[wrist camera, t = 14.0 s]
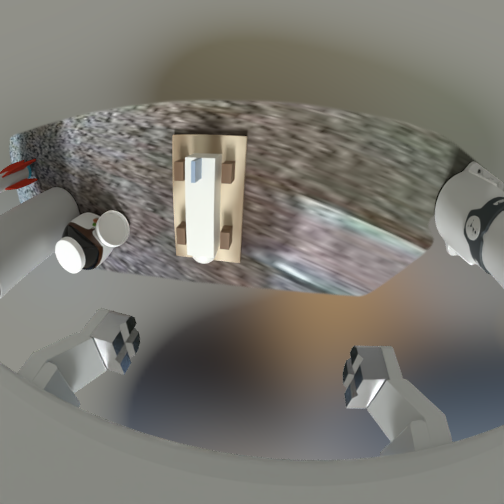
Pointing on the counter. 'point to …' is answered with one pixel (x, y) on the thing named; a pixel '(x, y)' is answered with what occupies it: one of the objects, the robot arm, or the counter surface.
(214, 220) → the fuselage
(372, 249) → the counter surface
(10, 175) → the toy rocket
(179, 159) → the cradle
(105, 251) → the spread jar
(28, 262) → the cylinder vase
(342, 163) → the counter surface
